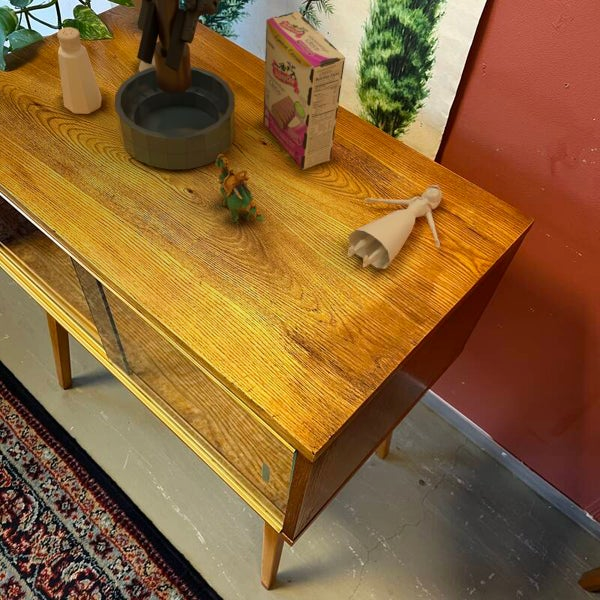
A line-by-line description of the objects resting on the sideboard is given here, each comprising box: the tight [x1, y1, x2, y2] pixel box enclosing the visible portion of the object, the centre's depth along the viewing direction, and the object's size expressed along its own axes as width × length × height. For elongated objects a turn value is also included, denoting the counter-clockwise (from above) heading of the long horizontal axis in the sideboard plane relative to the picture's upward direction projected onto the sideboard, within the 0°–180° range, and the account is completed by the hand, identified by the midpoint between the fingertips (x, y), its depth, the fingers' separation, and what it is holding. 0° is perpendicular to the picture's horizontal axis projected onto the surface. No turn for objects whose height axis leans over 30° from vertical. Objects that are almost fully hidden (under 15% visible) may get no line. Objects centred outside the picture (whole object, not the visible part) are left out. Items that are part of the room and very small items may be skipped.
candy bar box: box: [262, 10, 346, 171], centre depth 87 cm, size 11×5×16 cm, turn 32°
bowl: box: [113, 65, 236, 171], centre depth 90 cm, size 16×16×6 cm
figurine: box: [214, 154, 265, 225], centre depth 81 cm, size 3×12×8 cm, turn 31°
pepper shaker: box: [56, 26, 103, 115], centre depth 91 cm, size 5×5×11 cm
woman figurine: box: [347, 184, 443, 270], centre depth 83 cm, size 12×4×18 cm
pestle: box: [154, 0, 192, 93], centre depth 80 cm, size 4×4×15 cm
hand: (158, 64), depth 79 cm, fingers closed on pestle, 3 cm apart
